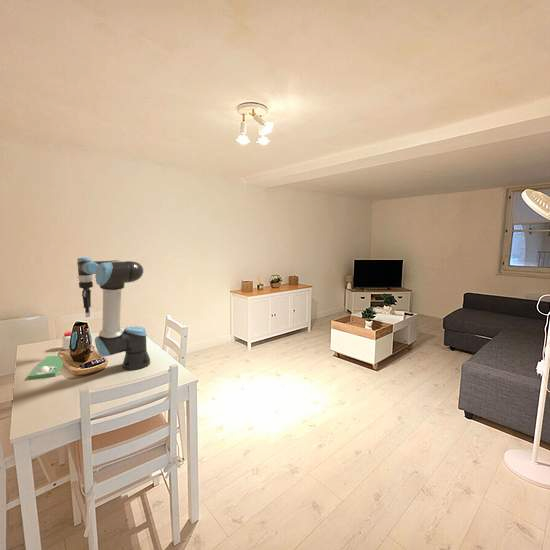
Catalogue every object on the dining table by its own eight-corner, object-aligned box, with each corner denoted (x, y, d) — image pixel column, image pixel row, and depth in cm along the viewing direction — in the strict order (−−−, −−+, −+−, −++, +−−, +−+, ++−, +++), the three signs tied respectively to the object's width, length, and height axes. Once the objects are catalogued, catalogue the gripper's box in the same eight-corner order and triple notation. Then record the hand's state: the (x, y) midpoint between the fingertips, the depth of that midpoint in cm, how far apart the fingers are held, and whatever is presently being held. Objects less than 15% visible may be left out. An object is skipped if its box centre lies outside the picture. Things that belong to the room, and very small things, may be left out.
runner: (69, 357, 192) (69, 354, 192) (55, 376, 166) (54, 372, 166) (46, 359, 188) (46, 356, 188) (28, 379, 162) (28, 376, 162)
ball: (51, 366, 172) (47, 364, 168) (50, 374, 170) (46, 372, 166) (42, 368, 171) (38, 365, 167) (41, 375, 169) (37, 373, 165)
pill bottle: (78, 348, 207) (77, 332, 206) (64, 351, 202) (63, 335, 200) (75, 345, 213) (73, 330, 211) (61, 348, 207) (60, 332, 206)
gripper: (81, 280, 198) (83, 315, 201) (76, 283, 186) (79, 320, 189) (94, 279, 201) (96, 314, 204) (90, 282, 189) (92, 319, 192)
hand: (88, 317), depth 196 cm, fingers closed
